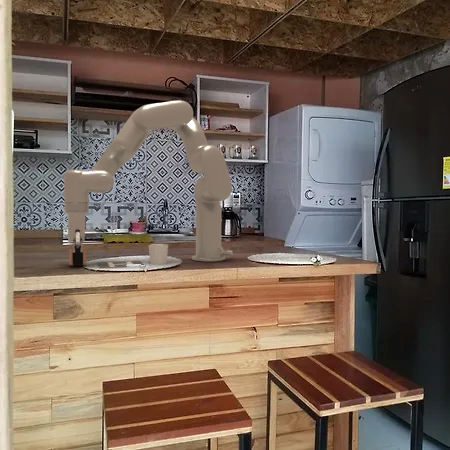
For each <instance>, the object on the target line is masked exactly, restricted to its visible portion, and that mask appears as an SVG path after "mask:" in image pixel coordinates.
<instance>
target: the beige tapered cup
mask: <svg viewBox="0 0 450 450" xmlns="http://www.w3.org/2000/svg"><path fill="white" fill-rule="evenodd" d="M168 251H169V244H166V243H151V244H148V253H149V254H148V255H149V263H150V264H153V265H162V264H164V265H165V264H167V262H168V253H169V252H168Z"/></svg>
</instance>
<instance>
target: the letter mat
mask: <svg viewBox="0 0 450 450" xmlns="http://www.w3.org/2000/svg"><path fill="white" fill-rule="evenodd" d="M96 264H97V267H98V268H99V269H117V268H118V269H119V268H128V267H127V266H126V265H127V264H141V265H145V264H144V262H142V261H141V260H124V261H123V260H121V261H119V260H118V261H100V262H99V261H97V262H96Z"/></svg>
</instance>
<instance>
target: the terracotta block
mask: <svg viewBox="0 0 450 450" xmlns="http://www.w3.org/2000/svg"><path fill="white" fill-rule="evenodd" d="M68 250H69V251H68V253H69V255H68V256H69V259H68V260H69V262H68V263H69V266H74V265H73V247H69V248H68ZM82 252H83V265H86V264H87V262H86V261H87V255H86V253H87V252H86V247H83V246H82Z"/></svg>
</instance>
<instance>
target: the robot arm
mask: <svg viewBox="0 0 450 450" xmlns="http://www.w3.org/2000/svg"><path fill="white" fill-rule="evenodd" d="M162 129H169V130H172V131H174V132H175V133H177V135H179V137H180V139H181V141H182V144H183V147H184V150H185V154H186V157H187V161H188V164H189V167H190V168H191V170H192V171H193V172H195V173H199V174H203V176H201V177H200V178H198V180H196V182H195V185H194V186H193V187H194V188H193V193H194V201H195V254H194V255H192V256H191V260H192V261H197V262H221V261H224V260H226V256H232V257H233V250H229V249H227V250H225V249H224V247H223V246H222V207H221V202H223V201H225V200H227V199H229V197H230V196H231V195H232V191H233V184H232V179H231V176H230V175H231V174H230V172H229V168H228V165H227V162H226V158H225V155H224V154H223V152H222V151H221V150H220V148H219V147H218V146H216V145H212V144H209V143H208V141H207V138H206V135H205V132H204V129H203V127H202V125H201V124H200V123H199V121H198V120H196V118H194V110H193V107H192V106H191V104H190V103H189V102H187V101H184V100H171V101H165V102H156V103H149V104H144V105H142V106H140V107H138V108H137V109H135V110H134V111H133V113H132V114H131V115H129V118H128V119H127V121H126V122H125V123H124V125H123V126H122V127H121V129H120V130H119V132H118V133H117V134H116V136H115V137H114V139H113V140H112V141H111V143H110V144H109V145H108V147H107V149H106V150H105V151H104V152H103V154H101V156H100V157H99V159H98V160H97V161H96V163H95V164H94V165H93V167H92V168H91V169H90V170H87V171H85V170H81V169H80V170H79V169H77V170H76V169H68V170H67V171H65V172H64V175H63V178H64V180H63V181H64V182H63V183H64V185H63V189H64V190H63V191H64V197H63V198H64V213H65V214H67V215H68V216H67V239H68V241H67V242H68V243H69V244H71V243H72V248H73V265H72V266H81V265H84V264H83V252H82V247H83V243H85V237H86V214H87V213H90V211H89V210H90V209H89V208H90V206H89V205H90V202H89V201H90V199H89V198H90V196H89V195H90V194H89V193H94V194H105V193H108V192H109V191H111V190H112V189H113V187H114V185H115V179H114V176H115V175H116V173H117V172H118V171H119V170H120V169H121V168H122V167H123V166H124V165H125V164H126V163H128V162H129V161H131V160H132V158H133V157H134V156H135V155H136V154H137V152H138V151H139V149H140V148H141V147H142V145H143V143H144V142H145V141H146V139H147V138H148V136H150V133H152V132H153V131H154V130H162Z"/></svg>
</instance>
